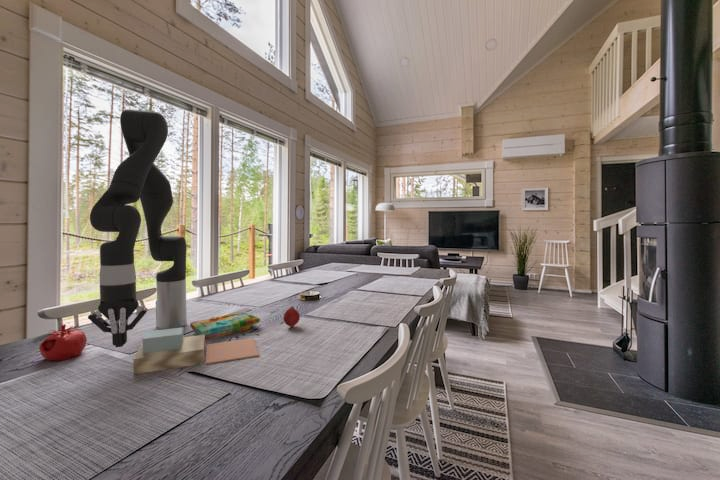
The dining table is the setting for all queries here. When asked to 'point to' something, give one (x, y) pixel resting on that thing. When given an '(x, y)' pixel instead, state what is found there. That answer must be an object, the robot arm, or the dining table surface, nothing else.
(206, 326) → the puzzle game
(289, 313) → the onion
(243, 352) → the tan flat square slab
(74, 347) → the red tomato
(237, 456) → the dining table surface
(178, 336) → the pale teal block
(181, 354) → the birch deck
